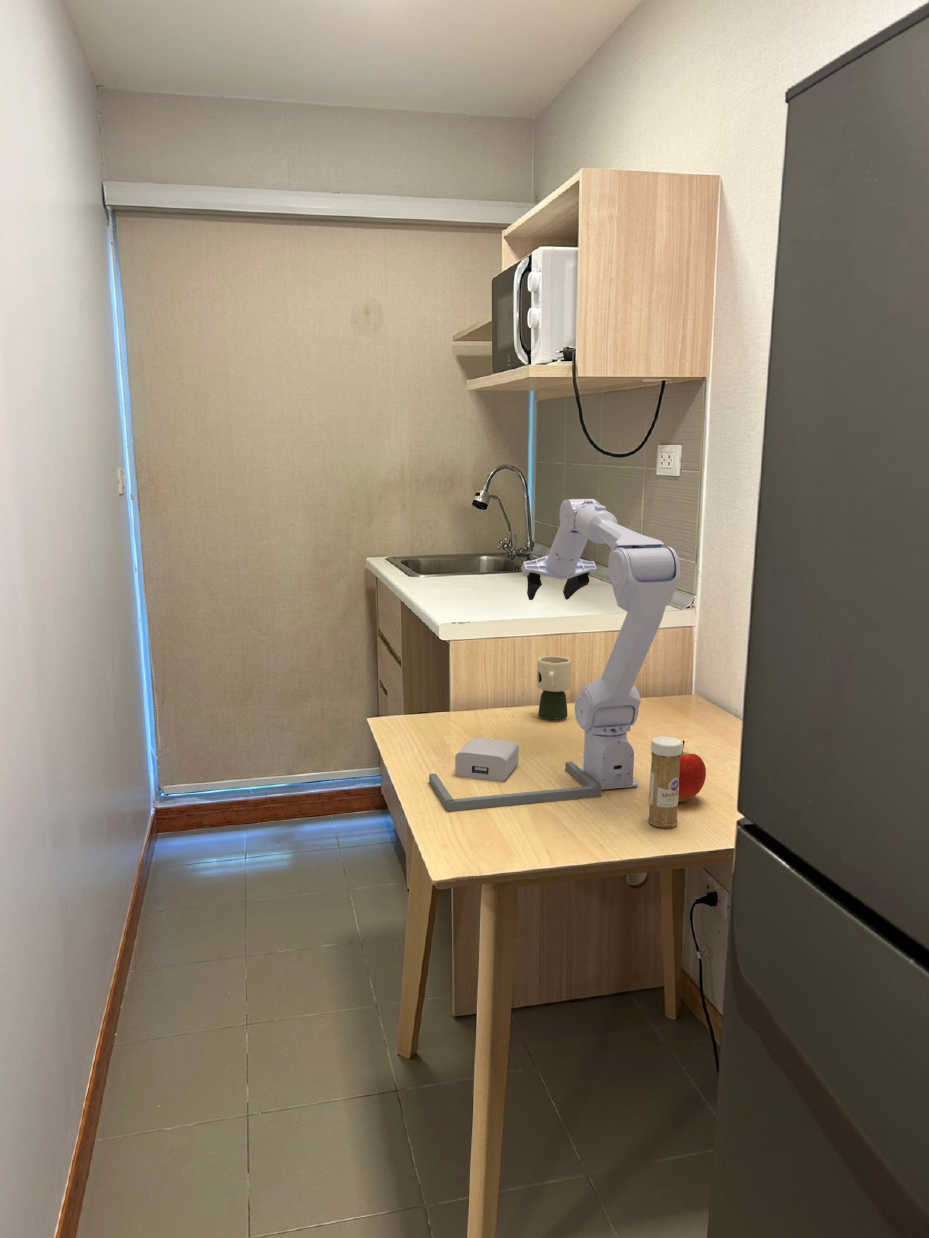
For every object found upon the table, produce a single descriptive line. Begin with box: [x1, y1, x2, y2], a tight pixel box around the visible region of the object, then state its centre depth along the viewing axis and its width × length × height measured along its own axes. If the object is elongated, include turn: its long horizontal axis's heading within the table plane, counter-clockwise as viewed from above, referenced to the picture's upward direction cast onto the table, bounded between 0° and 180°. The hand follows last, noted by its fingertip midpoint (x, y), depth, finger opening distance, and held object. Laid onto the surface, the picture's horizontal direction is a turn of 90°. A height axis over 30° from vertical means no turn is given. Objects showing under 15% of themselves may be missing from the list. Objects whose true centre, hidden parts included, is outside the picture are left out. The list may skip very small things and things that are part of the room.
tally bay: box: [428, 761, 603, 812], centre depth 151 cm, size 13×26×2 cm, turn 105°
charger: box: [454, 737, 520, 783], centre depth 163 cm, size 5×9×15 cm
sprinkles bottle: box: [647, 735, 683, 829], centre depth 137 cm, size 5×5×13 cm
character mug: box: [536, 655, 572, 721], centre depth 191 cm, size 11×7×13 cm, turn 167°
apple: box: [678, 739, 707, 803], centre depth 146 cm, size 8×8×10 cm
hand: (547, 596), depth 178 cm, fingers open, 7 cm apart
